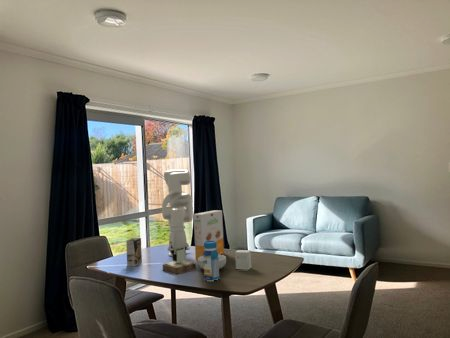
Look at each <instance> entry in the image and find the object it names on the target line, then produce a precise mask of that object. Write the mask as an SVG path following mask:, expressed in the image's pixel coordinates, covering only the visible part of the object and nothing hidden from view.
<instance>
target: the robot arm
mask: <svg viewBox="0 0 450 338" xmlns="http://www.w3.org/2000/svg"><path fill="white" fill-rule="evenodd" d="M163 178H164V182H165V183H166V186H167V188H168V190H167V191H168V194H167V195H166V196H165V197H164V198H163V201H162V204H161V208H162V210H161V211H162V218H163V219H164V220H167V222H168V226H169V227H168V228H169V230H168V231H169V237H168V247H167V251H168V252H169V253H167V255H168V256H169V257H172V262H173V261H177V255H176V250H177V249H184V251H185V256H186V255H187V251H190V249H191V247H190V244H188V241H187V235H186V231H185V229H186V225H184V224H185V223H186V224H187V223H191V222H192V221H193V220H194V214H193V213H194V212H193V200H192V199H193V198H192V195H191V194H190V193H183V187H182V186H185V185H186V186H187V185H190V184H191V174H190V171H189V169H169V170H166V171H164V172H163ZM168 204H169V206H168ZM167 206H168V207H167Z"/></svg>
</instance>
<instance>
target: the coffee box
mask: <svg viewBox="0 0 450 338" xmlns="http://www.w3.org/2000/svg"><path fill="white" fill-rule="evenodd" d="M125 243H126V245H125V246H126V267H127V266H128V267H137V266H139V265H141V264H142V263H143V258H142V257H143V255H142V252H143V251H142V238H140V237H135V238H130V239H128V240H126V241H125Z"/></svg>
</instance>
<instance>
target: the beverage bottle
mask: <svg viewBox="0 0 450 338" xmlns="http://www.w3.org/2000/svg"><path fill="white" fill-rule="evenodd" d="M216 247H217V243H216V241H206V242H204V249H205V251H204V253H203V257H204V258H203V263H204V269H203V280H204V281H205V280H207V281H206V282H215V281H214V280H217V281H219V280H220V269H219V262H218V261H219V258H218V252H217V250H216V249H215V248H216ZM218 279H219V280H218Z"/></svg>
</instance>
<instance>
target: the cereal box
mask: <svg viewBox="0 0 450 338" xmlns="http://www.w3.org/2000/svg"><path fill="white" fill-rule="evenodd" d="M223 221H224V220H223V210H217V209H216V210H215V209H214V210H209V211H204V212H203V211H202V212H198V213H194V214H193V229H194V230H193V231H194V232H193V233H194V249H195V250H194V251H195V253H194V254H195V261H197V260H198V258H199V257H201V256H203V253H204V251H205V249H204V242H206V241H216V243H217V247H216V248H215V249H216V250H217V252H218V254H220V255H221V254H222V255H224V254H225V248H224V247H225V245H224V226H223V225H224V224H223Z"/></svg>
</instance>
